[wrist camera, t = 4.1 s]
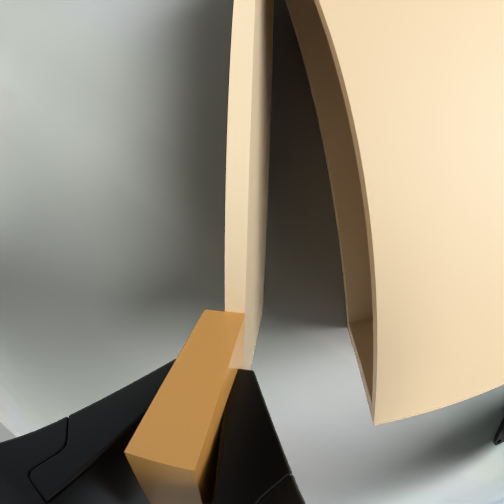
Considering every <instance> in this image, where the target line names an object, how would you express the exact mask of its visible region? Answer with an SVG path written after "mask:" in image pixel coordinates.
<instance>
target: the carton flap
mask: <svg viewBox="0 0 504 504" xmlns="http://www.w3.org/2000/svg"><path fill="white" fill-rule="evenodd" d="M272 52H273V0H234V4H233V20H232V36H231V54H230V74H229V96H228V122H227V153H226V196H225V311H217V310H207V309H205V310H204V312H203V314H202V315H201V317H200V319H199V321H198V322H197V324H196V326H195V328H194V329H193V331H192V333H191V334H190V336H189V338H188V340H187V341H186V343H185V345H184V347H183V348H182V350H181V352H180V354H179V355H178V357H177V359H176V361H175V362H174V364H173V366H172V368H171V369H170V371H169V373H168V375H167V376H166V378H165V380H164V382H163V383H162V385H161V387H160V389H159V390H158V392H157V394H156V396H155V398H154V399H153V401H152V403H151V405H150V406H149V408H148V410H147V412H146V413H145V415H144V417H143V419H142V421H141V422H140V424H139V426H138V428H137V430H136V431H135V433H134V435H133V437H132V438H131V440H130V442H129V444H128V446H127V447H126V449H125V451H124V453H125V455H126V457H127V460H128V462H129V464H130V466H131V468H132V470H133V472H134V474H135V476H136V478H137V480H138V482H139V484H140V486H141V488H142V489H143V491H144V493H145V495H146V497H147V498H148V500H149V502H150V504H212V501H213V493H214V484H215V475H216V467H217V458H218V450H219V442H220V433H221V425H222V417H223V411H224V408H225V405H226V402H227V399H228V396H229V393H230V390H231V388H232V385H233V382H234V379H235V376H236V373H237V371H238V369H246V370H251V366H252V361H253V357H254V352H255V347H256V342H257V337H258V332H259V328H260V323H261V318H262V313H263V295H264V275H265V254H266V232H267V208H268V183H269V156H270V126H271V92H272Z"/></svg>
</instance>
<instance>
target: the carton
mask: <svg viewBox="0 0 504 504" xmlns="http://www.w3.org/2000/svg"><path fill="white" fill-rule="evenodd" d="M285 2H286V5H287V8H288V11H289V14H290V17H291V20H292V23H293V27H294V30H295V33H296V37H297V40H298V43H299V47H300V50H301V54H302V58H303V61H304V65H305V69H306V73H307V76H308V80H309V84H310V88H311V92H312V97H313V101H314V105H315V109H316V114H317V118H318V123H319V127H320V132H321V137H322V142H323V147H324V152H325V157H326V162H327V168H328V173H329V179H330V185H331V191H332V197H333V203H334V210H335V216H336V223H337V230H338V238H339V245H340V253H341V262H342V271H343V280H344V290H345V301H346V313H347V327H348V331H349V335H350V338H351V341H352V345H353V348H354V352H355V355H356V359H357V362H358V366H359V370H360V373H361V377H362V381H363V385H364V388H365V392H366V396H367V400H368V404H369V408H370V412H371V416H372V421H373V425H379V424H384V423H388V422H393V421H397V420H401V419H405V418H409V417H413V416H416V415H420V414H423V413H427V412H430V411H434V410H437V409H440V408H443V407H446V406H449V405H452V404H455V403H458V402H461V401H464V400H466V399H469V398H472V397H474V396H477V395H480V394H482V393H484V392H487V391H489V390H492V389H494V388H496V387H499V386H501V385H503V384H504V0H285Z"/></svg>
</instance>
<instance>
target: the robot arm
mask: <svg viewBox="0 0 504 504" xmlns="http://www.w3.org/2000/svg"><path fill="white" fill-rule="evenodd" d="M175 361H176V359H174V360H173V361H171V362H169V363H167V364H166V365H164V366H162V367H160V368H159V369H157V370H155V371H153V372H151V373H150V374H148V375H146V376H144V377H142V378H140V379H139V380H137V381H135V382H133V383H131V384H129V385H128V386H126V387H124V388H122V389H120V390H118V391H116V392H114V393H112V394H111V395H109V396H107V397H105V398H103V399H101V400H99V401H97V402H95V403H93V404H91V405H89V406H87V407H85V408H83V409H81V410H79V411H77V412H75V413H73V414H71V415H70V416H69V418H68V417H65V418H63V419H61V420H59V421H57V422H55V423H52V424H50V425H48V426H46V427H43V428H41V429H39V430H36V431H34V432H31V433H28V434H25V435H23V436H20V437H17V438H14V439H11V440H7V441H4V442H1V443H0V504H150V502H149V500H148V498H147V497H146V495H145V493H144V491H143V489H142V488H141V486H140V484H139V482H138V480H137V478H136V476H135V474H134V472H133V470H132V468H131V466H130V464H129V462H128V460H127V457H126V455H125V453H124V451H125V449H126V447H127V446H128V444H129V442H130V440H131V438H132V437H133V435H134V433H135V431H136V430H137V428H138V426H139V424H140V422H141V421H142V419H143V417H144V415H145V413H146V412H147V410H148V408H149V406H150V405H151V403H152V401H153V399H154V398H155V396H156V394H157V392H158V390H159V389H160V387H161V385H162V383H163V382H164V380H165V378H166V376H167V375H168V373H169V371H170V369H171V368H172V366H173V364H174V362H175ZM493 442H494V444H495V445H498V444H500V443H502V442H504V420H503V422H502V425H501V427H500V429H499V431H498V433H497V435H496V437H495V439H494V441H493ZM212 504H305V501H304V499H303V497H302V495H301V493H300V491H299V488H298V486H297V483H296V481H295V478H294V476H293V475H292V471H291V469H290V466H289V464H288V461H287V459H286V456H285V454H284V451H283V448H282V446H281V443H280V441H279V438H278V435H277V433H276V430H275V428H274V425H273V422H272V420H271V417H270V414H269V411H268V409H267V406H266V403H265V401H264V398H263V395H262V392H261V390H260V387H259V384H258V381H257V378H256V376H255V373H254V371H252V370H246V369H238V371H237V373H236V376H235V379H234V382H233V385H232V388H231V390H230V393H229V396H228V399H227V402H226V405H225V408H224V411H223V417H222V425H221V433H220V442H219V450H218V458H217V467H216V475H215V484H214V493H213V501H212Z"/></svg>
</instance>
